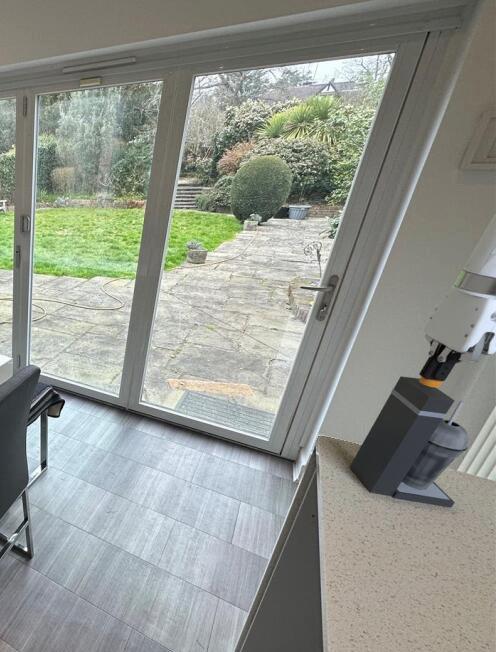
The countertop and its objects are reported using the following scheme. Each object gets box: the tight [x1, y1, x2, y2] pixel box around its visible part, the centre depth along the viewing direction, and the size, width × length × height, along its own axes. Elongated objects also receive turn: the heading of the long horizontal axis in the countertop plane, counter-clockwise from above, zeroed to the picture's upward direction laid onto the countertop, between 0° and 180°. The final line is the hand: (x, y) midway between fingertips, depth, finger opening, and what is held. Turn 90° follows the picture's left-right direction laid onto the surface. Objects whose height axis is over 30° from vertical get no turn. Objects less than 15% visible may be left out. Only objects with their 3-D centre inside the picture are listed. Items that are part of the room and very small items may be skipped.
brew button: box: [419, 376, 443, 389], centre depth 77 cm, size 3×3×1 cm
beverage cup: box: [402, 400, 470, 490], centre depth 82 cm, size 7×7×20 cm
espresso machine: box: [349, 376, 455, 508], centre depth 83 cm, size 14×9×24 cm, turn 77°
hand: (431, 378), depth 77 cm, fingers closed
